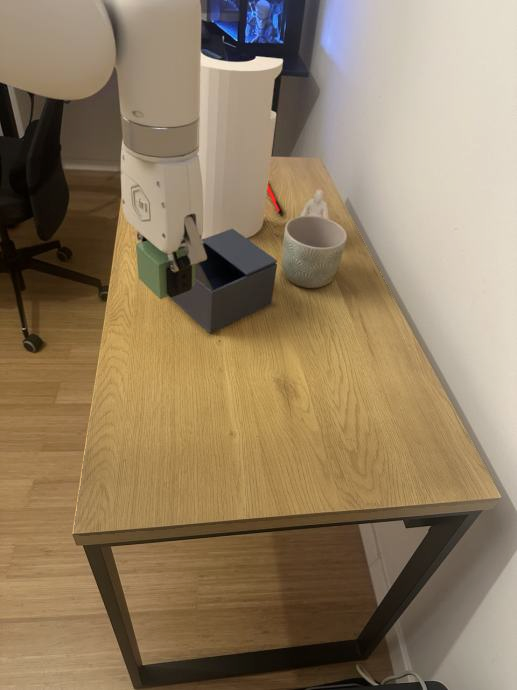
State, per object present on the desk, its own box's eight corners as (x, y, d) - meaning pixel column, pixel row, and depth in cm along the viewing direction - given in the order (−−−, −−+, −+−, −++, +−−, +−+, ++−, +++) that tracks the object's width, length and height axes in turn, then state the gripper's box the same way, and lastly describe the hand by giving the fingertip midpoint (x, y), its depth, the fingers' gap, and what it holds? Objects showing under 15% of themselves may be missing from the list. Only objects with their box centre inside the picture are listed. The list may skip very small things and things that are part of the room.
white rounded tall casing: (175, 212, 119) (262, 218, 122) (172, 238, 111) (266, 243, 113) (173, 47, 95) (282, 57, 97) (169, 64, 87) (288, 75, 89)
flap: (212, 288, 83) (211, 290, 83) (168, 251, 89) (166, 253, 89) (198, 261, 77) (196, 262, 77) (151, 223, 83) (150, 225, 83)
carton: (210, 334, 90) (212, 289, 83) (168, 296, 96) (167, 251, 89) (271, 304, 98) (277, 260, 91) (229, 271, 104) (232, 228, 97)
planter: (343, 293, 103) (355, 248, 95) (284, 295, 100) (293, 249, 93) (326, 258, 112) (337, 215, 104) (272, 259, 109) (279, 214, 102)
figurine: (326, 237, 118) (337, 190, 110) (323, 255, 112) (334, 207, 104) (295, 231, 119) (303, 184, 110) (290, 249, 113) (299, 200, 105)
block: (160, 299, 60) (158, 265, 56) (138, 278, 62) (135, 244, 59) (194, 285, 62) (195, 251, 59) (172, 265, 65) (171, 232, 61)
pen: (279, 216, 123) (280, 212, 122) (262, 180, 136) (262, 176, 135) (283, 216, 123) (283, 212, 123) (265, 180, 136) (265, 176, 136)
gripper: (85, 109, 52) (105, 256, 64) (177, 175, 43) (179, 330, 56) (148, 99, 56) (155, 239, 68) (244, 158, 47) (232, 306, 60)
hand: (166, 279), depth 62 cm, fingers closed on block, 5 cm apart
